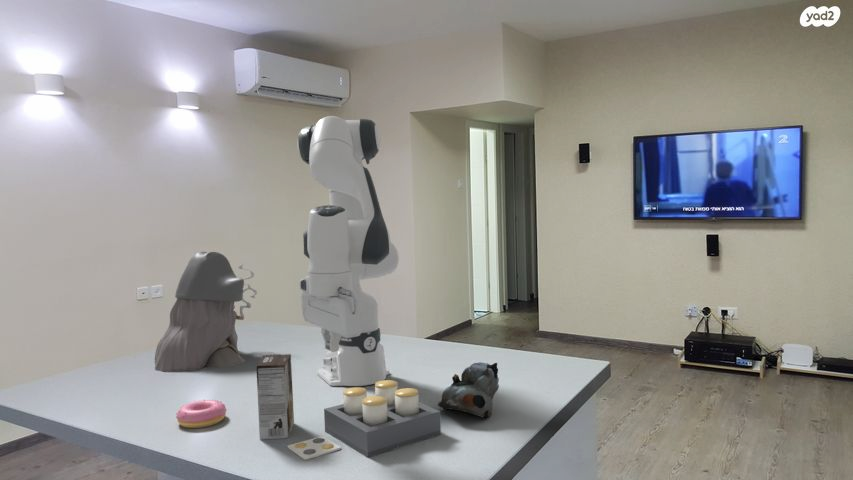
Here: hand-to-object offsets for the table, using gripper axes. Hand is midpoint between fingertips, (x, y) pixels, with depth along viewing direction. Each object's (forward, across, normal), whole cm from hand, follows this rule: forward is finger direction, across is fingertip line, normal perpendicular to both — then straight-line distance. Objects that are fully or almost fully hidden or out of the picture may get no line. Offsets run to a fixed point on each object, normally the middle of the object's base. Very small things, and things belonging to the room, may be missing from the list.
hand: (331, 350), depth 128 cm
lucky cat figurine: (+19, -6, -32) cm, 38 cm away
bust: (+22, +90, +1) cm, 93 cm away
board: (+19, -4, -9) cm, 21 cm away
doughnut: (+20, +29, +19) cm, 40 cm away
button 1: (+15, 0, -5) cm, 16 cm away
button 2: (+15, -8, -5) cm, 18 cm away
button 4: (+15, -8, -13) cm, 21 cm away
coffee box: (+20, +12, +8) cm, 24 cm away
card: (+19, -2, +6) cm, 20 cm away
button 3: (+15, 0, -13) cm, 20 cm away
